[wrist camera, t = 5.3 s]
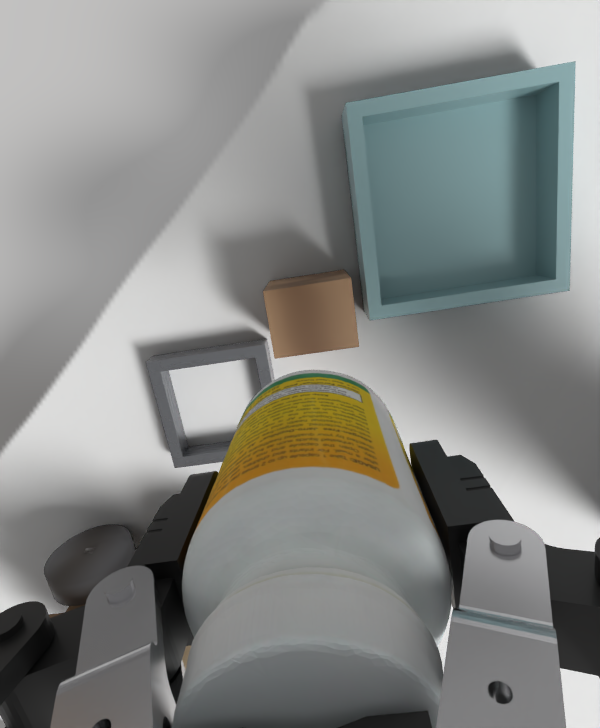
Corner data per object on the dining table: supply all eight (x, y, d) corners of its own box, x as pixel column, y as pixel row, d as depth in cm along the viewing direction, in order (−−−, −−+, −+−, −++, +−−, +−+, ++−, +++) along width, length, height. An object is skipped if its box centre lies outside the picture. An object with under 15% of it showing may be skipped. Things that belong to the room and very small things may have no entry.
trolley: (252, 506, 35) (188, 824, 16) (280, 637, 39) (256, 1011, 20) (71, 529, 36) (-183, 854, 17) (117, 654, 40) (-49, 1027, 21)
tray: (545, 79, 26) (575, 61, 23) (543, 284, 29) (569, 290, 26) (341, 116, 26) (345, 102, 23) (363, 311, 30) (370, 320, 27)
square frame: (266, 339, 31) (264, 344, 29) (286, 443, 33) (285, 453, 31) (153, 355, 31) (145, 362, 30) (180, 457, 33) (174, 467, 32)
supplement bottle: (425, 444, 15) (597, 778, 6) (310, 530, 16) (304, 919, 7) (321, 330, 14) (334, 525, 5) (206, 431, 15) (41, 740, 6)
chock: (343, 269, 29) (351, 277, 24) (350, 327, 30) (359, 346, 26) (270, 280, 29) (262, 291, 25) (279, 337, 31) (274, 358, 26)
